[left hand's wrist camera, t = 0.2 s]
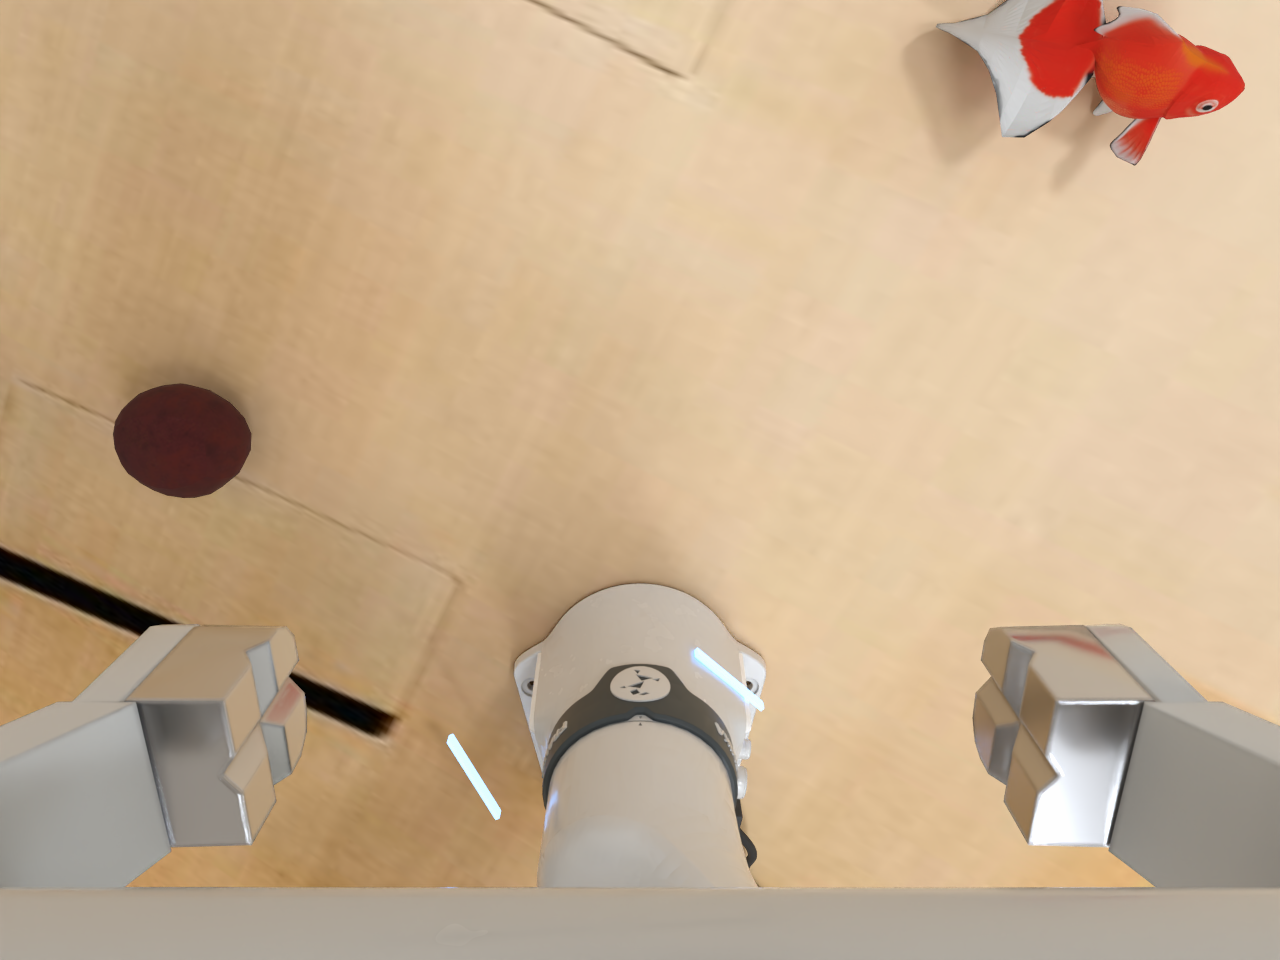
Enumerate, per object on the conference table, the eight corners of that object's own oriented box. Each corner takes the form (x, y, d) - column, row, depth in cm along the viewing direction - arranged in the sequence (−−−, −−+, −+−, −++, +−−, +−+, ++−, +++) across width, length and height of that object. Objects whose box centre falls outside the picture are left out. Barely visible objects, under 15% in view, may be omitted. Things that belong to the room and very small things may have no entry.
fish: (1123, 253, 51) (1199, 163, 41) (890, 128, 54) (909, 19, 45) (1227, 104, 51) (1327, -19, 41) (988, -9, 55) (1029, -147, 45)
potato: (140, 373, 58) (76, 401, 51) (258, 370, 58) (208, 399, 51) (164, 477, 60) (106, 517, 54) (276, 475, 60) (232, 515, 54)
